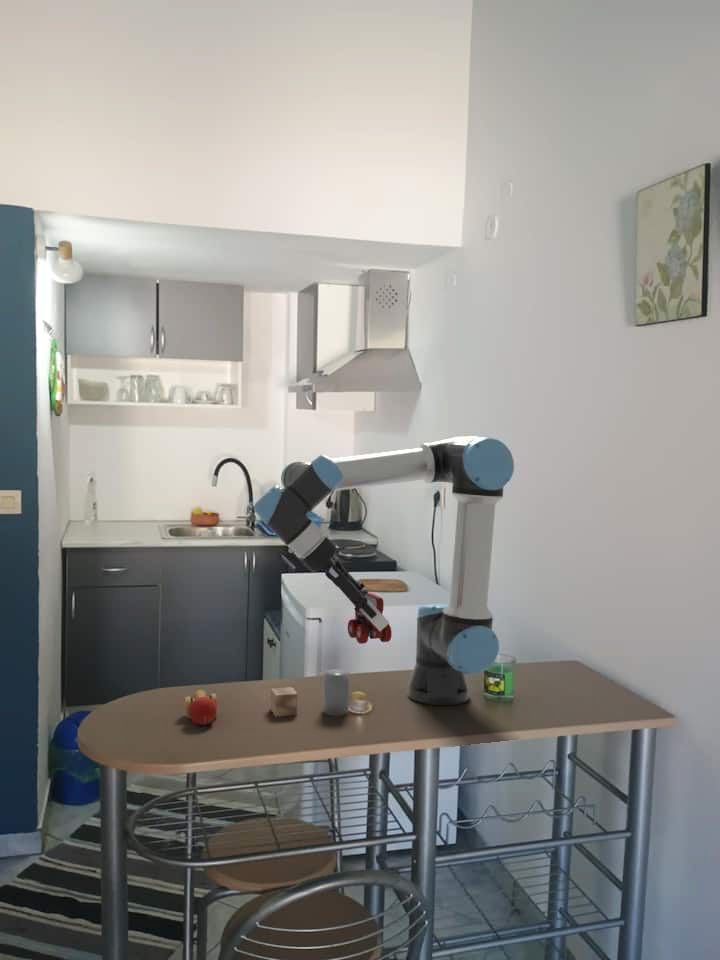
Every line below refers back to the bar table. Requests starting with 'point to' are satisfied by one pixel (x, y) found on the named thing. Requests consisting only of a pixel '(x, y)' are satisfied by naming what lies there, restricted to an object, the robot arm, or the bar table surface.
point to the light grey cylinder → (336, 692)
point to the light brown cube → (283, 701)
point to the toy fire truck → (368, 623)
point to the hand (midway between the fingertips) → (381, 620)
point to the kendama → (201, 707)
